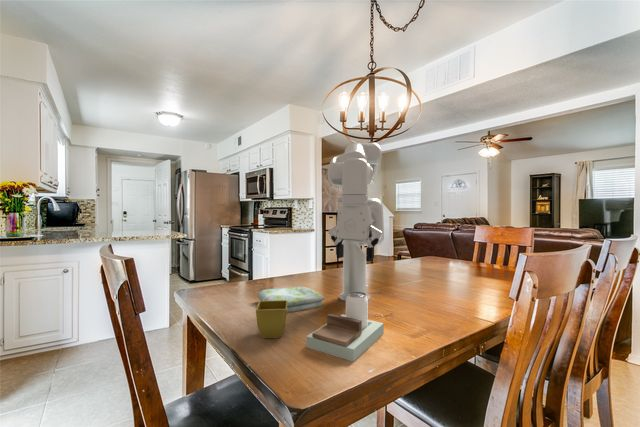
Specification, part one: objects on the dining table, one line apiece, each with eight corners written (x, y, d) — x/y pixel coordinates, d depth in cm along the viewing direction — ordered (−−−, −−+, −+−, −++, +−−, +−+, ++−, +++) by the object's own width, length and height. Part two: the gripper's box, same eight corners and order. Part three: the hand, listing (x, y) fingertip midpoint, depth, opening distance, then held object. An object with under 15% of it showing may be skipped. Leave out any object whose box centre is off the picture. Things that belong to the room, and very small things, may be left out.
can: (367, 340, 85) (367, 297, 85) (344, 338, 86) (344, 296, 86) (368, 331, 91) (368, 291, 91) (347, 329, 93) (347, 290, 93)
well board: (342, 323, 97) (342, 314, 97) (383, 333, 90) (383, 323, 90) (306, 347, 81) (306, 336, 81) (353, 361, 73) (353, 349, 73)
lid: (329, 325, 87) (329, 313, 87) (361, 333, 82) (361, 320, 81) (312, 337, 79) (312, 323, 79) (345, 346, 74) (345, 331, 74)
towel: (326, 306, 116) (326, 293, 116) (274, 316, 105) (274, 302, 105) (303, 295, 131) (303, 283, 131) (256, 302, 120) (256, 290, 120)
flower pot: (259, 329, 93) (259, 300, 92) (287, 328, 93) (287, 299, 93) (255, 342, 84) (255, 310, 84) (287, 341, 85) (287, 309, 84)
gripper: (323, 201, 90) (323, 258, 91) (377, 200, 81) (377, 264, 81) (335, 201, 97) (335, 255, 97) (387, 201, 87) (387, 260, 88)
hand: (354, 259), depth 89 cm, fingers open, 9 cm apart
